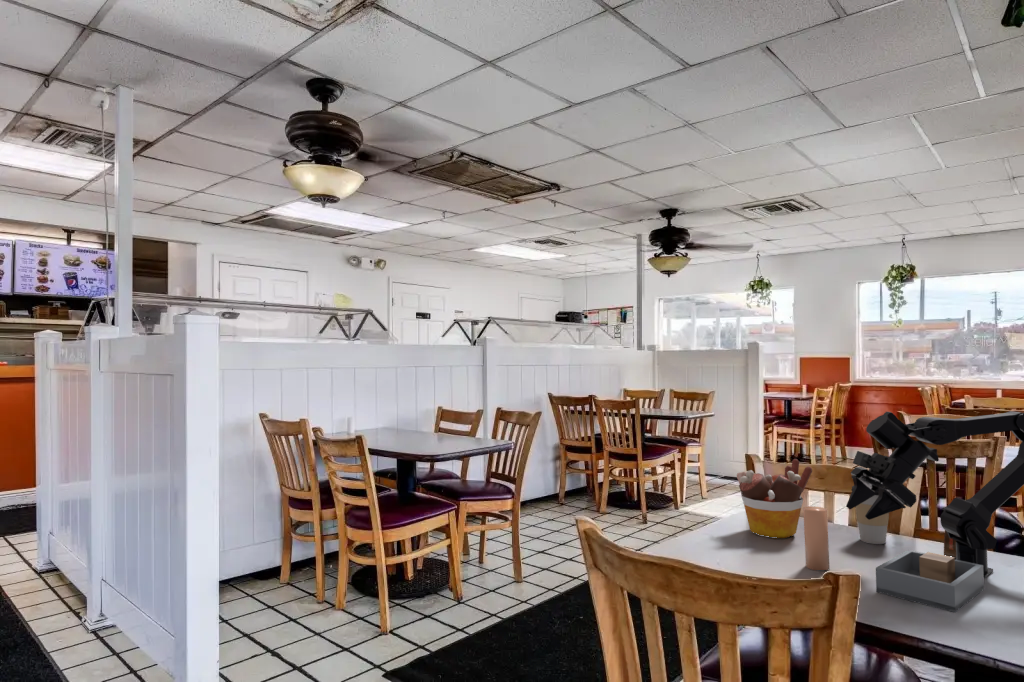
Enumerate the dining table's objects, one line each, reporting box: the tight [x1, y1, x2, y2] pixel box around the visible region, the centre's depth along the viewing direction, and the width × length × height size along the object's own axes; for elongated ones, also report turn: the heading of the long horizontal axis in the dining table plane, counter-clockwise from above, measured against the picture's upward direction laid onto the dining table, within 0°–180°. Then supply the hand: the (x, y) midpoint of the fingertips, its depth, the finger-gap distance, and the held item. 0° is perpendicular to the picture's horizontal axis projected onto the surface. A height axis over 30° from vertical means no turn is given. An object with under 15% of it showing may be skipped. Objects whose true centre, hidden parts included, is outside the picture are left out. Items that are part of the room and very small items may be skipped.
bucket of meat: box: [736, 458, 813, 539], centre depth 175 cm, size 20×16×20 cm
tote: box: [875, 549, 985, 613], centre depth 132 cm, size 18×14×5 cm
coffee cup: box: [851, 485, 890, 545], centre depth 167 cm, size 9×9×15 cm
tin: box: [943, 529, 956, 558], centre depth 156 cm, size 15×3×8 cm, turn 141°
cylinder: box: [802, 505, 831, 571], centre depth 147 cm, size 5×5×14 cm
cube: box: [919, 551, 956, 583], centre depth 135 cm, size 5×5×5 cm
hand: (857, 512), depth 145 cm, fingers open, 9 cm apart
